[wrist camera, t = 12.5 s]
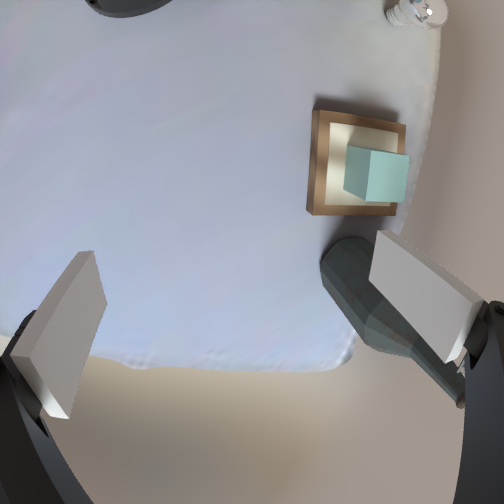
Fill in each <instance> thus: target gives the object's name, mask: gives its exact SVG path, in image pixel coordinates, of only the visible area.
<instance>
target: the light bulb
mask: <svg viewBox="0 0 504 504" xmlns="http://www.w3.org/2000/svg"><path fill="white" fill-rule="evenodd" d="M448 14H449V13H448V7H447V4H446V2H445V0H399V2H398V3H397V4H396V5H395V6H394V7H392V8H390V9H388V10H387V12H386V15H387V18H388V20H389V21H390V22H391V23H392V24H393V25H395V26H403V25H406V24H407V25H415V26H417V27H420V28H423V29H429V30H430V29H437V28H440V27H441V26H443V25H444V24H445V23H446V21H447V19H448Z"/></svg>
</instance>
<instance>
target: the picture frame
mask: <svg viewBox="0 0 504 504" xmlns="http://www.w3.org/2000/svg"><path fill="white" fill-rule="evenodd" d="M405 133H406V125H404V124H400V123H395V122H390V121H386V120H381V119H376V118H370V117H365V116H359V115H353V114H347V113H340V112H333V111H326V110H312V132H311V150H310V166H309V181H308V194H307V207H306V210H307V211H308V212H309V213H310V214H311V215H378V216H395V215H396V209H397V203H398V202H377V201H365V200H363V199H361V198H359V197H357V196H355V195H353V194H351V193H349V192H347V191H345V190H343V185H344V175H345V163H346V151H347V145H348V146H357V147H365V148H373V149H380V150H386V151H390V152H394V153H399V154H403V155H404V145H405Z"/></svg>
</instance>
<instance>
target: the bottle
mask: <svg viewBox="0 0 504 504" xmlns="http://www.w3.org/2000/svg"><path fill="white" fill-rule="evenodd" d="M374 248H375V246H373V245H372V244H371V243H370V242H368V241H367V240H366V239H364V238H344V239H342V240H340V241H338V242H336V243H335V244H334V245H333V246H332V248H331V249H330V250H329V251H328V252H327V254H326V255H325V256H324V257H323V260H322V263H321V267H320V272H321V277H322V283H323V286H324V287H325V289H326V290H327V291H328V293H329V294H330V296H331V297H332V298H333V300H334V301H335V302H336V304H337V305H338V307H339V308H340V309H341V311H342V312H343V313H344V315H345V316H346V318H347V319H348V320H349V322H350V323H351V325H352V326H353V327H354V329H355V330H356V332H357V333H358V334H359V336H360V337H361V339H362V340H363V341H364V343H365V344H366V345H368V346H370V347H372V348H373V349H375V350H377V351H380V352H384V353H389V354H393V355H398V356H403V357H408V358H412V359H413V360H414V361H415V362H416V363H417V364H418V365H419V366H420V367H421V368H422V369H423V370H424V371H425V372H426V373H427V374H428V375H429V376H430V377H431V378H432V379H433V380H434V381H435V382H436V383H437V384H438V385H439V386H440V387H441V388H442V389H443V390H444V391H445V392H446V393H447V394H448V395H449V396H450V397H451V398H452V399H453V400H454V401H455V402H456V406H457V408H460V409H463V408H464V407H465V378H464V376H463V375H462V373H461V372H459V373H457V369H458V367H457V366H456V364H455V363H454V362H453V360H452V361H450V362H447V363H444V362H443V361H442V360H441V358H440V357H439V356H438V355H437V354H436V353H435V351H434V350H433V349H432V348H431V347H430V346H429V345H428V343H427V342H426V341H425V340H424V339H423V338H422V337H421V336H420V334H419V333H418V332H417V331H416V330H415V329H414V328H413V327H412V325H411V324H410V323H409V322H408V321H407V320H406V319H405V318H404V317H403V316H402V315H401V313H400V312H399V311H398V310H397V309H396V308H395V307H394V306H393V305H392V304H391V303H390V302H389V301H388V299H387V298H386V297H385V296H384V295H383V294H382V293H381V292H380V291H379V290H378V289H377V288H376V287H375V286H374V285H373V284H372V283H371V282H370V281H369V275H370V270H371V265H372V259H373V254H374Z"/></svg>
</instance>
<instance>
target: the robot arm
mask: <svg viewBox="0 0 504 504" xmlns="http://www.w3.org/2000/svg"><path fill="white" fill-rule="evenodd" d="M85 1H86V2H87V4H88V5H89V6H90V7H91V8H92V9H93V10H95V11H96V12H98V13H99V14H102V15H104V16H108V17H115V18H126V17H134V16H138V15H142V14H145V13H148V12H151V11H154V10H156V9H158V8H160V7H162V6H164V5H165V4H167V3H169V2H170V1H172V0H85ZM369 281H370V282H371V283H372V284H373V285H374V286H375V287H376V288H377V289H378V290H379V291H380V292H381V293H382V294H383V295H384V296H385V297H386V298H387V299H388V301H389V302H390V303H391V304H392V305H393V306H394V307H395V308H396V309H397V310H398V311H399V312H400V313H401V315H402V316H403V317H404V318H405V319H406V320H407V321H408V322H409V323H410V324H411V325H412V327H413V328H414V329H415V330H416V331H417V332H418V333H419V334H420V336H421V337H422V338H423V339H424V340H425V341H426V342H427V343H428V345H429V346H430V347H431V348H432V349H433V350H434V351H435V353H436V354H437V355H438V356H439V357H440V358H441V360H442V361H443V362H444V363H447V362H450V361H452V360H454V359H456V358H457V357H458V355H459V354H460V351H461V349H462V348H463V346H464V347H465V348H466V349H467V353H466V355H465V356H464V358H463V360H462V362H461V364H460V366H459V367H458V369H457V373H459V372H460V370H461V368H462V367H465V369H464V371H463V372H462V374H465V418H464V435H463V445H462V454H461V462H460V469H459V476H458V481H457V486H456V492H455V497H454V501H453V504H504V303H502V302H499V301H491V302H490V303H489V304H488V303H487V302H486V301H484V299H483V298H482V297H480V296H479V295H478V294H477V293H475V292H474V291H473V290H472V289H470V288H469V287H468V286H467V285H465V284H464V283H463V282H462V281H460V280H459V279H458V278H456V277H455V276H454V275H452V274H451V273H450V272H448V271H447V270H446V269H445V268H443V267H442V266H440V265H439V264H438V263H436V262H435V261H434V260H432V259H431V258H430V257H428V256H427V255H425V254H424V253H423V252H421V251H420V250H418V249H417V248H415V247H414V246H413V245H411V244H410V243H408V242H407V241H405V240H404V239H402V238H401V237H400V236H398V235H397V234H395V233H394V232H392V231H391V230H377V236H376V242H375V248H374V254H373V259H372V265H371V270H370V275H369ZM106 306H107V301H106V298H105V294H104V291H103V287H102V283H101V280H100V276H99V272H98V268H97V264H96V259H95V255H94V251H83V252H78V253H77V255H76V256H75V257H74V259H73V260H72V261H71V262H70V264H69V265H68V266H67V268H66V269H65V270H64V272H63V273H62V274H61V276H60V277H59V279H58V280H57V281H56V283H55V284H54V286H53V287H52V288H51V290H50V291H49V293H48V294H47V296H46V297H45V299H44V300H43V302H42V303H41V305H40V306H39V308H38V309H37V310H33V311H32V312H31V313H30V314H29V315H28V316H26V317H25V318H24V320H23V321H22V323H21V325H20V326H19V329H17V331H16V332H15V334H14V335H15V336H13V337H12V339H11V341H10V342H9V344H8V346H7V348H6V349H5V351H4V353H3V354H2V356H1V357H0V504H94V503H93V502H92V501H91V499H90V498H89V496H88V495H87V494H86V492H85V491H84V489H83V488H82V486H81V485H80V483H79V482H78V480H77V479H76V477H75V476H74V474H73V473H72V471H71V469H70V468H69V466H68V464H67V463H66V461H65V459H64V457H63V456H62V454H61V452H60V451H59V449H58V447H57V445H56V443H55V441H54V439H53V437H52V435H51V433H50V432H49V429H48V428H47V425H46V423H45V421H44V420H43V418H42V417H41V416H40V411H41V408H42V406H43V407H44V408H45V410H46V411H47V412H48V414H49V415H50V416H52V417H58V418H66V419H69V418H70V414H71V410H72V406H73V403H74V399H75V395H76V392H77V389H78V385H79V382H80V379H81V375H82V372H83V369H84V366H85V363H86V360H87V357H88V354H89V351H90V348H91V346H92V343H93V340H94V337H95V334H96V332H97V329H98V326H99V324H100V321H101V318H102V316H103V313H104V311H105V308H106Z"/></svg>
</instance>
